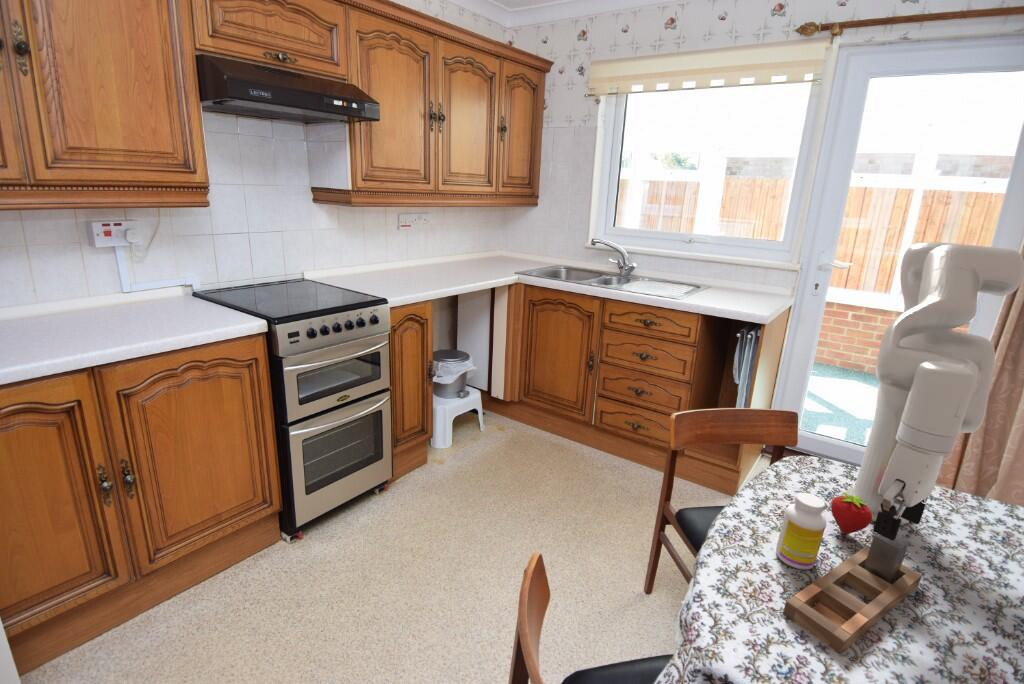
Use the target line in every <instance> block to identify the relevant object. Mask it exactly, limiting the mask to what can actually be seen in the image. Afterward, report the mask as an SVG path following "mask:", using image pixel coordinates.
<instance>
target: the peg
mask: <svg viewBox="0 0 1024 684" xmlns="http://www.w3.org/2000/svg"><path fill="white" fill-rule="evenodd" d="M909 544H910V541H909V540H907V539H905V538H903V537H901V536H899V535H897V536H896V539H895V540H893V541H892V540H890V539H888V538H886V537H884V536H882V535H880V534H878V533H876V534H875V535H873V537H872V542H871V544H870V546H869V547H870V550H869V553H868V556H867V559H866V562H865V565H864V569H865V570H867V571H869V572H871V573H872V574H874V575H876V576H877V577H879V578H881V579H883V580H884V581H886V582H888V583H890V584H891V585H892V584H894V583H895V582H896V579H897V576H898V573H899V571H900V568H901V565H902V564H903V562H904V558H905V556H906V553H907V550H908V548H909Z"/></svg>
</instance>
